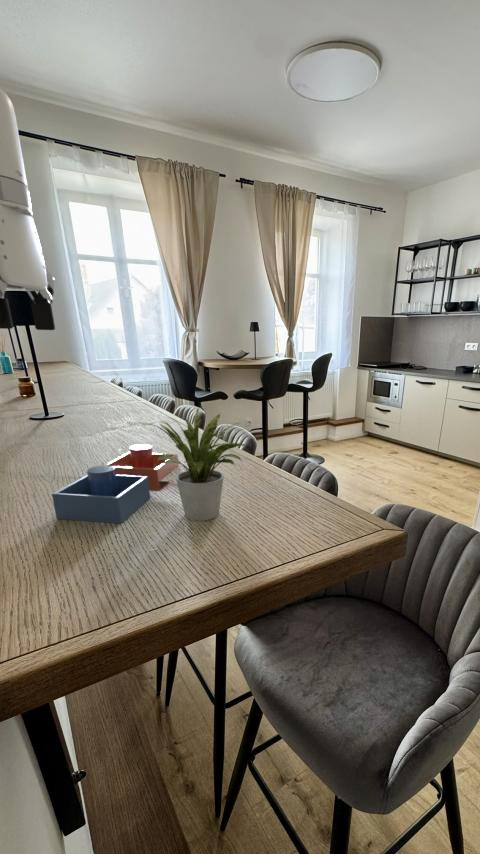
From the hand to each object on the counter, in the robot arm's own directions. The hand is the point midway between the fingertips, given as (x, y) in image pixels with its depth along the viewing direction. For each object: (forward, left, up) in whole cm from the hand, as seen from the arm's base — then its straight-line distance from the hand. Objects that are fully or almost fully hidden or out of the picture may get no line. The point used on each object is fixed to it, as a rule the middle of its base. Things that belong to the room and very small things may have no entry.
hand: (25, 329), depth 65 cm
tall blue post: (+14, -8, -26) cm, 30 cm away
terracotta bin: (+14, +6, -26) cm, 30 cm away
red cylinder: (+14, +6, -26) cm, 30 cm away
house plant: (+29, -9, -26) cm, 40 cm away
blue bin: (+14, -8, -26) cm, 31 cm away
